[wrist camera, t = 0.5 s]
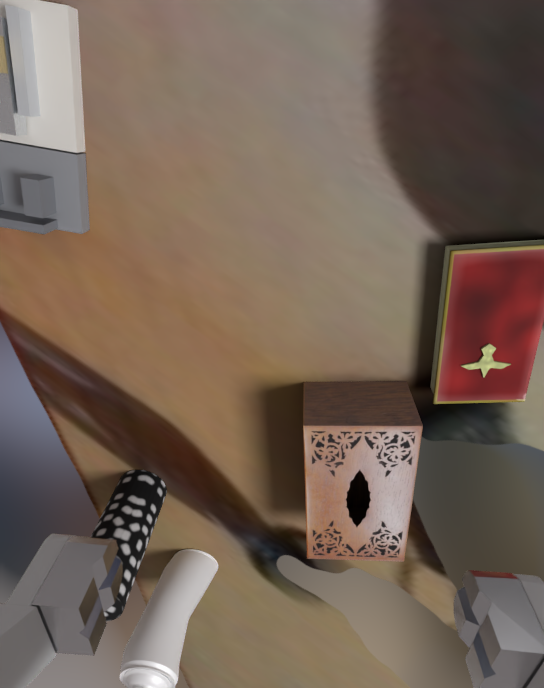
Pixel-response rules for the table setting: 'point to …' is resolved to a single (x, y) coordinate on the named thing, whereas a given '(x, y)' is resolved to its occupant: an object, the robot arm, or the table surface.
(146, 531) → the white-spotted black cylinder
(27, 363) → the table surface
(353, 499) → the tissue box cover
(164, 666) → the spray can
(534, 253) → the hardcover book
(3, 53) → the bolt
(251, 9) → the table surface
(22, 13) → the plate
